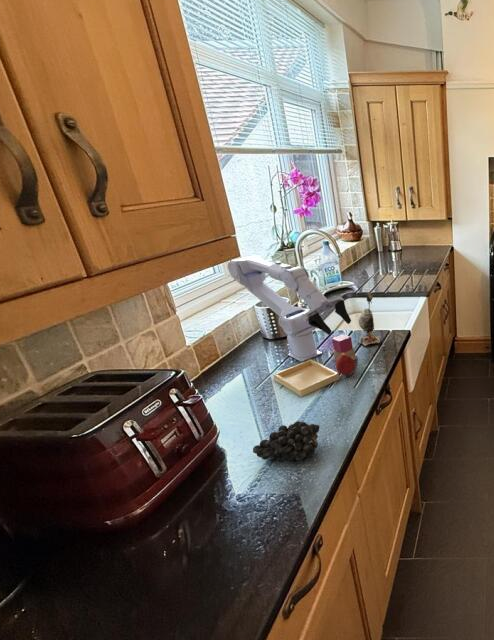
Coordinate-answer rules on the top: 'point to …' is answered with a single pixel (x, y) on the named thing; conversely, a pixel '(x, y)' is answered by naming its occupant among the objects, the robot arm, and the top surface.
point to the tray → (306, 377)
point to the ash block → (349, 353)
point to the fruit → (289, 442)
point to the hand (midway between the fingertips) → (340, 327)
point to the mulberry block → (342, 343)
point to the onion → (345, 365)
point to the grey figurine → (368, 324)
